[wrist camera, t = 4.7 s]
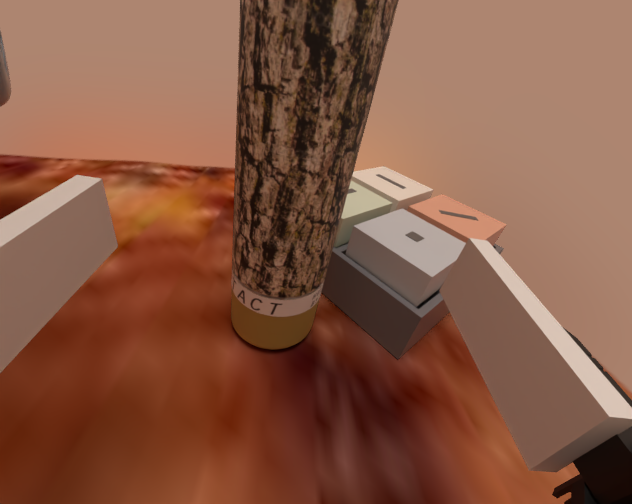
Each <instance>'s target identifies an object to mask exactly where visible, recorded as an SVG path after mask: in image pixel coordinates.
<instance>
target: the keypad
mask: <svg viewBox="0 0 632 504" xmlns="http://www.w3.org/2000/svg"><path fill="white" fill-rule="evenodd" d="M348 243H349V242H348ZM348 243H346V244H343V245H341V246H338V247H336V248H335V247H334V246H333V250H332V254H331V258H330V262H329V265H328V269H327V273H326V277H325V280H324V284H323V288H322V293H323V294H324V295H325V296H326V297H327V298H328V299H330V300H331V301H332V302H333V303H334V304H335V305H336V306H338V307H339V308H340V309H341V310H342V311H343V312H344V313H346V314H347V315H348V316H349V317H350V318H351V319H352V320H353V321H355V322H356V323H357V324H358V325H359V326H360V327H361V328H363V329H364V330H365V331H366V332H367V333H368V334H369V335H371V336H372V337H373V338H374V339H375V340H376V341H377V342H378V343H380V344H381V345H382V346H383V347H384V348H385V349H386V350H388V351H389V352H390V353H391V354H392V355H393V356H394V357H396V358H397V359H399V358H400V357H402V356H403V355H404V354H405V353H406V352H407V351H408V350H409V349H410V348H411V347H412V346H413V345H414V344H416V343H417V342H418V341H419V340H420V339H421V338H422V337H423V336H424V335H425V334H426V333H427V332H428V331H430V330H431V329H432V328H433V327H434V326H435V325H436V324H437V323H438V322H439V321H440V320H441V319H443V318H444V317H445V316H446V315H447V314H448V313H449V312H450V311H449V309H448V307H447V305H446V303H445V301H444V299H443V297H442V295H441V293H440V291H439V290H440V289H439V290H438V291H436V292H435V293H434V294H432V295H431V296H430V297H429V298H427V299H426V300H425V301H423V302H422V303H421V304H420V305H418V306H417V307H416V306H414V305H413V304H411V303H410V302H409V301H407V300H406V299H405V298H403V297H402V296H401V295H399V294H398V293H397V292H395V291H394V290H392V289H391V288H390V287H388V286H387V285H386V284H384V283H383V282H382V281H380V280H379V279H378V278H376V277H375V276H373V275H372V274H371V273H369V272H368V271H367V270H365V269H364V268H363V267H361V266H360V265H359V264H357V263H356V262H354V261H353V260H352V259H350V258H349V257H348V256H346V255H345V253H346V249H347V246H348ZM493 248H494V249H495V250H496V251H497V252H498V253H499V254H500V253H501V252H502V250H503V248H502V247H500V246H498V245H496V244H494V246H493Z"/></svg>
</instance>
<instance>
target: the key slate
mask: <svg viewBox="0 0 632 504" xmlns="http://www.w3.org/2000/svg"><path fill="white" fill-rule="evenodd" d="M465 244H466V243H465V242H463V241H461V240H459V239H457V238H456V237H454V236H452V235H450V234H448V233H446V232H445V231H443V230H441V229H439V228H437V227H435V226H434V225H432V224H430V223H428V222H426V221H424V220H423V219H421V218H419V217H417V216H415V215H414V214H412V213H410V212H408V211H406V210H404V209H403V208H402V209H399V210H396V211H394V212H391V213H388V214H385V215H382V216H380V217H377V218H374V219H371V220H368V221H365V222H363V223H360V224H357V225H354V226H353V229H352V233H351V236H350V239H349V243H348V246H347V249H346V253H345V255H346V256H348V257H349V258H350V259H352V260H353V261H354V262H356V263H357V264H359V265H360V266H361V267H363V268H364V269H365V270H367V271H368V272H369V273H371V274H372V275H373V276H375V277H376V278H378V279H379V280H380V281H382V282H383V283H384V284H386V285H387V286H388V287H390V288H391V289H392V290H394V291H395V292H397V293H398V294H399V295H401V296H402V297H403V298H405V299H406V300H407V301H409V302H410V303H411V304H413V305H414V306H416V307H417V306H418V305H420V304H421V303H422V302H423V301H425V300H426V299H427V298H429V297H430V296H431V295H432V294H434V293H435V292H436V291H438V290H439V289H440V288H441V286H442V285H443V283H444V281H445V279H446V278H447V276H448V274H449V272H450V271H451V269H452V267H453V265H454V264H455V262H456V260H457V258H458V257H459V255H460V253H461V251H462V250H463V248H464V246H465Z"/></svg>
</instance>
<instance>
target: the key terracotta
mask: <svg viewBox="0 0 632 504" xmlns="http://www.w3.org/2000/svg"><path fill="white" fill-rule="evenodd" d="M407 211H408V212H410V213H412V214H414V215H415V216H417V217H419V218H421V219H423V220H424V221H426V222H428V223H430V224H432V225H434V226H435V227H437V228H439V229H441V230H443V231H445V232H446V233H448V234H450V235H452V236H454V237H456V238H457V239H459V240H461V241H463V242H465V243H467V241H468V239H469V238H474V239H480V240H486V241H488V242H489V243H490V244H491V245H492V246H494V244H495V242H496V241H497V239H498V238H499V236H500V234H501V233H502V231H503V230H504V228H505V227H506V224H504V223H502V222H500V221H498V220H496V219H494V218H492V217H490V216H487V215H485V214H483V213H481V212H479V211H477V210H475V209H473V208H471V207H469V206H466V205H464V204H462V203H460V202H458V201H456V200H454V199H452V198H450V197H447V196H445V195H443V194H442V195H439V196H436V197H433V198H430V199H427V200H425V201H422V202H419V203H416V204H413V205H410V206H409V207H408V209H407Z"/></svg>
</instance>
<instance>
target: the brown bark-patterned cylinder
mask: <svg viewBox="0 0 632 504" xmlns="http://www.w3.org/2000/svg"><path fill="white" fill-rule="evenodd" d="M398 1H399V0H240V29H239V60H238V93H237V96H238V97H237V127H236V159H235V190H234V223H233V255H232V299H231V319H232V324H233V327H234V329H235V330H236V332H237V333H238V334H239V336H240V337H242V338H243V339H244V340H245V341H247V342H248V343H250V344H252V345H254V346H256V347H259V348H263V349H270V350H277V349H284V348H287V347H290V346H293V345H295V344H297V343H299V342H300V341H302V340H303V339H304V338H305V337H306V336H307V334H308V333H309V331H310V329H311V327H312V325H313V321H314V317H315V313H316V309H317V306H318V302H319V298H320V295H321V292H322V288H323V284H324V280H325V277H326V273H327V269H328V265H329V262H330V258H331V254H332V250H333V246H334V243H335V239H336V235H337V231H338V228H339V224H340V220H341V216H342V212H343V209H344V205H345V201H346V197H347V193H348V190H349V186H350V182H351V178H352V175H353V171H354V167H355V163H356V159H357V155H358V152H359V148H360V144H361V141H362V137H363V133H364V129H365V125H366V122H367V118H368V114H369V110H370V106H371V103H372V99H373V95H374V91H375V87H376V84H377V80H378V76H379V73H380V69H381V65H382V61H383V57H384V54H385V50H386V46H387V42H388V38H389V35H390V31H391V27H392V23H393V20H394V16H395V12H396V8H397V4H398Z"/></svg>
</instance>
